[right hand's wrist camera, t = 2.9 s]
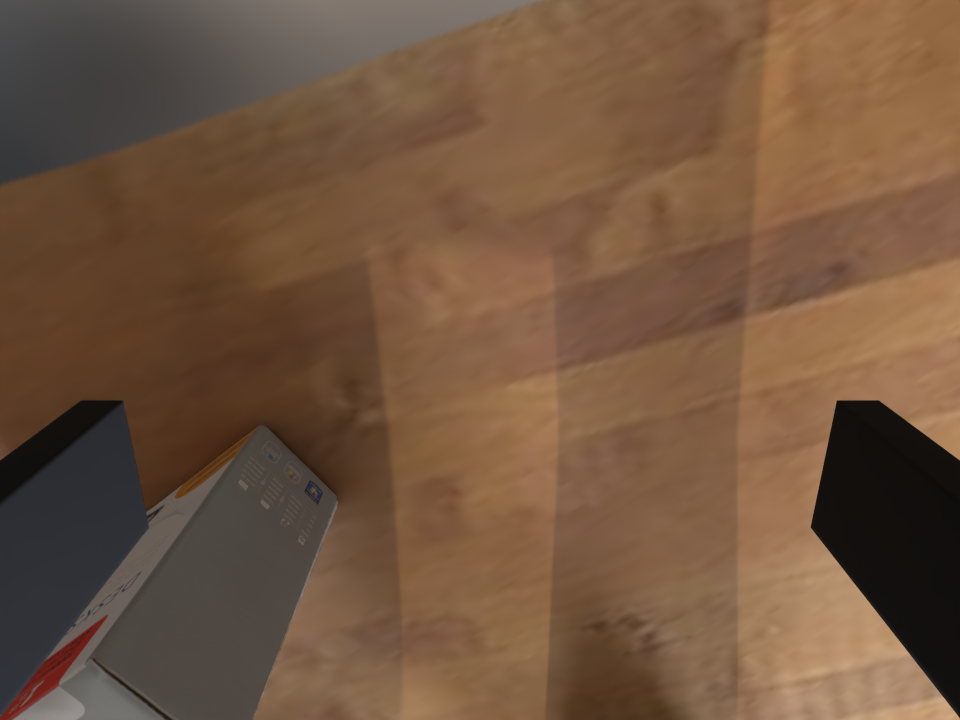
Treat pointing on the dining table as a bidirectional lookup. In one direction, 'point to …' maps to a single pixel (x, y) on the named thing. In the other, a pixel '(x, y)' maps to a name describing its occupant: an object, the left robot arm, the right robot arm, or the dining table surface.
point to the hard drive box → (194, 598)
